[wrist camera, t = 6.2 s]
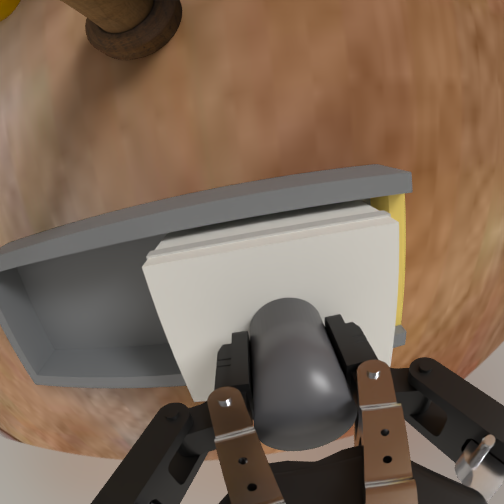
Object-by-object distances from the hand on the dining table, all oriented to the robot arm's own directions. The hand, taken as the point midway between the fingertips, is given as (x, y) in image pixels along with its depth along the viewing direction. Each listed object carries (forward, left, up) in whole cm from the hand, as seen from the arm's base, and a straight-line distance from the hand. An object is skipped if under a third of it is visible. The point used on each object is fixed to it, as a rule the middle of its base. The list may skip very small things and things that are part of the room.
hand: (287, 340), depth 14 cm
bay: (0, -7, -9) cm, 12 cm away
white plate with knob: (0, 0, -8) cm, 8 cm away
